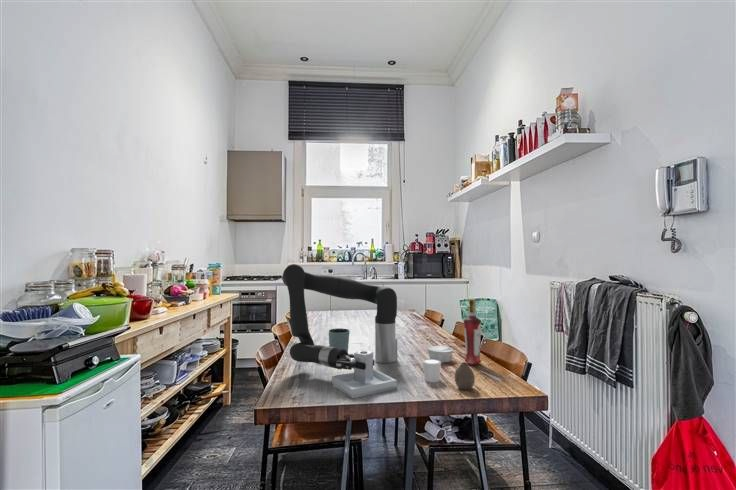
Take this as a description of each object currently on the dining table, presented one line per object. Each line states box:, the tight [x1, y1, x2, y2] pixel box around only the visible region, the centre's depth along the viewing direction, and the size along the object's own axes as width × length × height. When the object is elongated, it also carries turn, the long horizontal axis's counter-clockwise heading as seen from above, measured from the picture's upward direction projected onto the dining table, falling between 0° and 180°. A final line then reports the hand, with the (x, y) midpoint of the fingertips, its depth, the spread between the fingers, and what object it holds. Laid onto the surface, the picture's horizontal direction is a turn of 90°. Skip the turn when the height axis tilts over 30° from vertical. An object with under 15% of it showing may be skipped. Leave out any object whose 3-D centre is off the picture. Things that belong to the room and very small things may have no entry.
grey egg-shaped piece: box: [454, 362, 476, 391], centre depth 132 cm, size 7×7×9 cm
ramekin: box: [427, 345, 454, 364], centre depth 168 cm, size 11×11×5 cm
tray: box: [331, 368, 398, 399], centre depth 134 cm, size 18×16×3 cm
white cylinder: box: [422, 358, 442, 383], centre depth 141 cm, size 7×7×7 cm
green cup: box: [328, 328, 350, 353], centre depth 177 cm, size 10×10×12 cm
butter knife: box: [479, 370, 503, 382], centre depth 152 cm, size 1×27×3 cm
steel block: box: [353, 349, 374, 384], centre depth 134 cm, size 5×5×10 cm
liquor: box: [463, 298, 482, 366], centre depth 162 cm, size 7×7×28 cm
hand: (369, 364), depth 133 cm, fingers closed on steel block, 5 cm apart
